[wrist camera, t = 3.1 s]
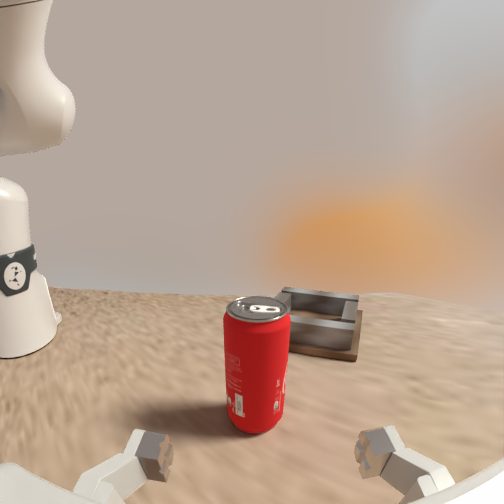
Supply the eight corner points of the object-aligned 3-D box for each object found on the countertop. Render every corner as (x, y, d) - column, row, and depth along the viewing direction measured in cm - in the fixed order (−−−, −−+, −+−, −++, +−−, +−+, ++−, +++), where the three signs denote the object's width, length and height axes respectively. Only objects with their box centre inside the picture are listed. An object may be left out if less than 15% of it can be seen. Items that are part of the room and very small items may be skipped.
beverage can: (233, 398, 27) (231, 293, 25) (283, 403, 27) (292, 296, 24) (222, 432, 22) (215, 318, 20) (279, 439, 22) (290, 324, 19)
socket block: (247, 343, 39) (248, 317, 38) (280, 304, 53) (281, 284, 52) (356, 361, 33) (361, 334, 33) (361, 315, 47) (364, 294, 46)
